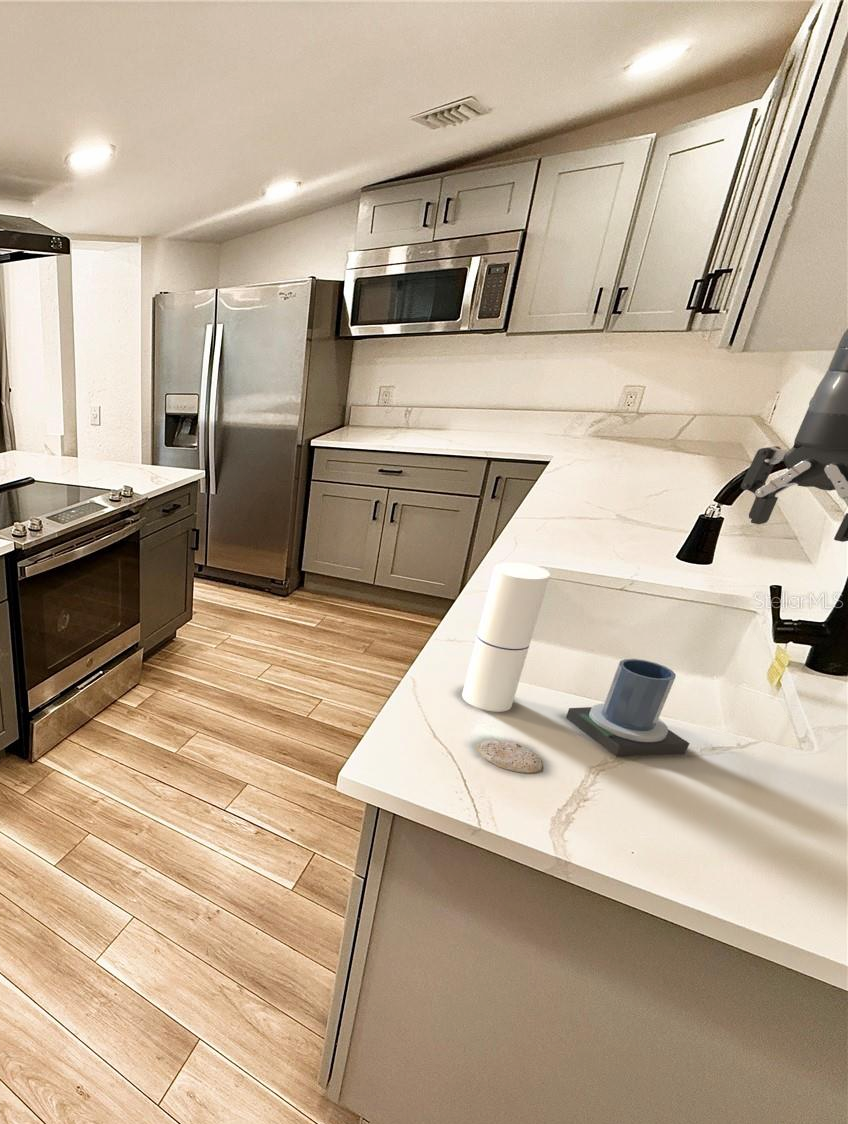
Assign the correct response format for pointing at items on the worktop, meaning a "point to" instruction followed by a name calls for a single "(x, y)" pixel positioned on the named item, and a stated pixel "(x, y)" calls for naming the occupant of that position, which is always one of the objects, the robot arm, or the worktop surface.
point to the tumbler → (638, 694)
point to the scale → (626, 735)
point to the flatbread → (510, 756)
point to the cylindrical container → (504, 635)
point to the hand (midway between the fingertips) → (798, 531)
